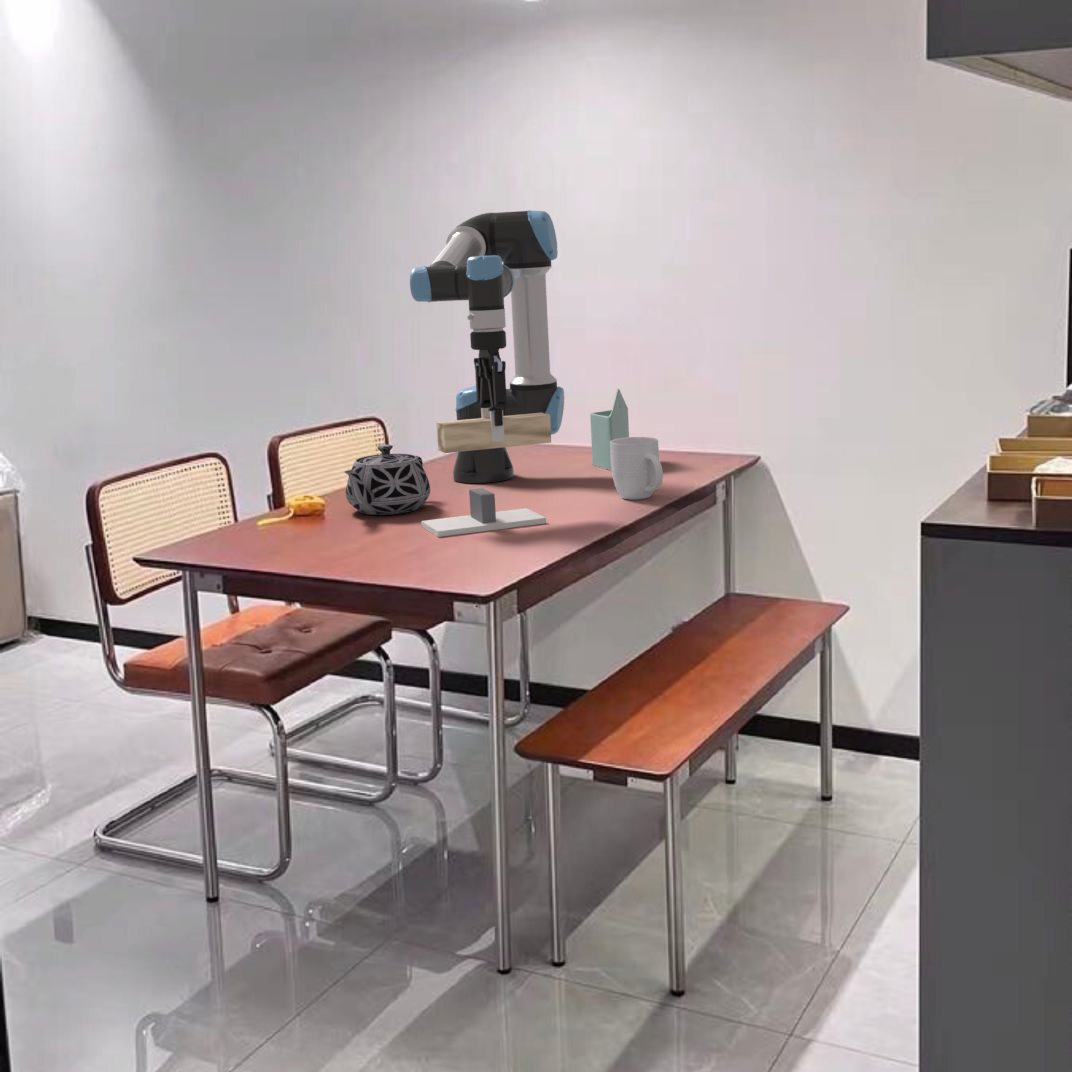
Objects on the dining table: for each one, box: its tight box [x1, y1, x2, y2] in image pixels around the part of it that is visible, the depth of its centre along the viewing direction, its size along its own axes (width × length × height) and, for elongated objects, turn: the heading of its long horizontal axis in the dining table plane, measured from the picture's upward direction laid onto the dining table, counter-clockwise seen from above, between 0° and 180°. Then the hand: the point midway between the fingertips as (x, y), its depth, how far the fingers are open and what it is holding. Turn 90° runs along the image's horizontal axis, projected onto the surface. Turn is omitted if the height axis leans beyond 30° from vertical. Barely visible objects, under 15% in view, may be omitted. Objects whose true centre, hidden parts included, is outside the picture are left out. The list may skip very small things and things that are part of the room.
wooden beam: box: [436, 413, 552, 454], centre depth 316 cm, size 5×24×6 cm, turn 111°
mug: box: [610, 436, 664, 501], centre depth 333 cm, size 15×11×13 cm
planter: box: [589, 388, 630, 472], centre depth 377 cm, size 16×8×20 cm, turn 162°
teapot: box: [343, 444, 431, 516], centre depth 333 cm, size 19×31×15 cm, turn 153°
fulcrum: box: [421, 487, 547, 538], centre depth 314 cm, size 12×24×7 cm, turn 111°
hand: (493, 439), depth 316 cm, fingers closed on wooden beam, 5 cm apart
